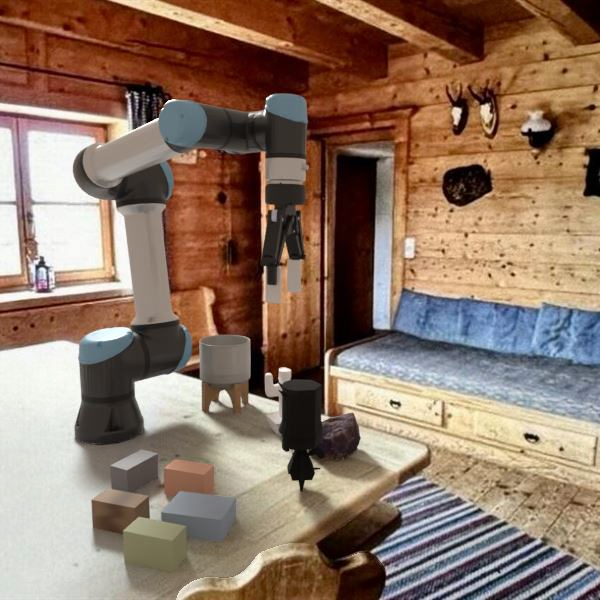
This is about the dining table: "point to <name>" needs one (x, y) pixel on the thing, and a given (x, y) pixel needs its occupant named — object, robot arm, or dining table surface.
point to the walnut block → (118, 509)
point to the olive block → (155, 544)
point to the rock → (339, 437)
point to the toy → (301, 426)
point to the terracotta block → (188, 477)
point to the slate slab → (201, 514)
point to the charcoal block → (134, 471)
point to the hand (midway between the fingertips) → (284, 297)
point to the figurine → (272, 391)
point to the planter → (224, 369)
